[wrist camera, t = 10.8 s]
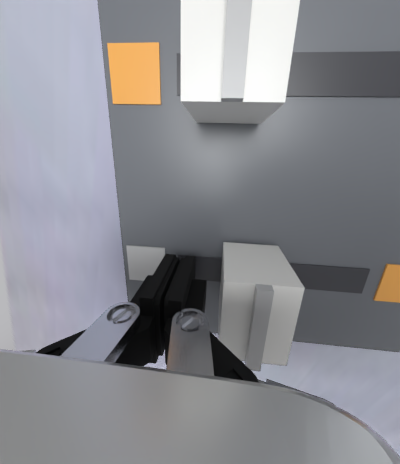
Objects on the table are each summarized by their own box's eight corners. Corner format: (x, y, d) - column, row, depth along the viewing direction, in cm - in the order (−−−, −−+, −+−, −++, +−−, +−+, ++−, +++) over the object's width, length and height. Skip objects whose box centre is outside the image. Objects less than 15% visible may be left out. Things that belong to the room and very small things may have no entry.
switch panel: (673, -487, 6) (1063, -1045, 3) (368, 318, 16) (400, 353, 13) (98, -377, 8) (25, -696, 5) (144, 297, 18) (129, 325, 15)
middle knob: (273, 11, 8) (324, -132, 4) (260, 123, 10) (289, 98, 6) (199, 13, 9) (176, -120, 4) (196, 122, 10) (178, 97, 6)
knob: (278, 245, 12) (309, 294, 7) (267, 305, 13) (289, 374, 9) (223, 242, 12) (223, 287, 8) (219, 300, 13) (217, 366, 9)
